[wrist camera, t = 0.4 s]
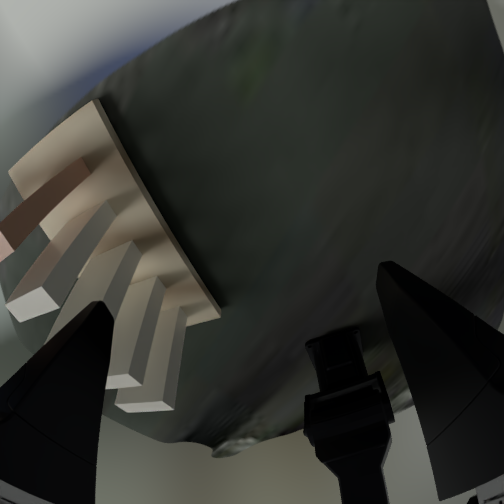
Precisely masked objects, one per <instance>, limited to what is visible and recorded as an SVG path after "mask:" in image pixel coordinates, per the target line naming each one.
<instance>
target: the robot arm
mask: <svg viewBox="0 0 504 504" xmlns="http://www.w3.org/2000/svg"><path fill="white" fill-rule="evenodd" d="M376 289H377V293H378V296H379V299H380V303H381V306H382V310H383V313H384V317H385V321H386V324H387V328H388V331H389V334H390V337H391V339H392V342H393V344H394V347H395V350H396V352H397V355H398V358H399V360H400V363H401V366H402V369H403V372H404V374H405V377H406V380H407V383H408V386H409V389H410V392H411V395H412V398H413V401H414V404H415V408H416V411H417V414H418V417H419V420H420V424H421V428H422V431H423V435H424V438H425V442H426V445H427V450H428V454H429V458H430V462H431V466H432V470H433V475H434V479H435V484H436V488H437V493H438V498H439V501H442V500H445V499H448V498H451V497H453V496H456V495H459V494H461V493H464V492H466V491H469V490H471V489H474V488H476V492H477V494H476V495H474V496H472V497H471V498H470V499H469V501H468V503H467V504H504V334H502V333H501V332H499V331H498V330H496V329H495V328H493V327H492V326H490V325H489V324H487V323H486V322H484V321H483V320H482V319H480V318H479V317H477V316H474V314H473V313H471V312H470V311H469V310H467V309H466V308H464V307H463V306H461V305H460V304H458V303H457V302H455V301H454V300H453V299H451V298H450V297H448V296H447V295H445V294H444V293H442V292H441V291H439V290H437V289H436V288H434V287H433V286H431V285H430V284H428V283H427V282H425V281H424V280H422V279H420V278H419V277H417V276H416V275H414V274H413V273H411V272H409V271H408V270H406V269H405V268H403V267H401V266H400V265H398V264H397V263H395V262H393V261H385V262H381V263H380V264H379V266H378V272H377V280H376ZM113 331H114V318H113V316H112V314H111V312H110V311H109V309H108V308H107V306H106V304H105V303H104V302H103V301H101V300H99V301H92V302H91V303H89V304H88V305H87V306H86V307H85V308H84V309H83V310H81V311H80V312H79V313H78V314H77V315H76V316H75V317H74V318H73V319H71V320H70V321H69V322H68V323H67V324H66V325H65V326H64V327H63V328H62V329H61V330H59V331H58V332H57V333H56V334H55V335H54V336H53V337H52V338H51V339H50V340H49V341H48V342H47V343H46V344H45V345H44V346H43V347H42V348H40V349H39V350H38V351H37V352H36V353H35V354H34V355H33V357H31V358H30V359H29V360H28V361H27V363H25V364H24V365H23V366H22V367H21V368H20V369H19V370H18V371H17V372H16V373H15V374H14V375H13V376H12V377H11V378H10V379H9V380H8V381H7V382H6V383H5V384H3V385H2V386H1V387H0V504H95V488H96V487H95V486H96V468H97V467H96V465H97V452H98V442H99V432H100V423H101V416H102V408H103V401H104V395H105V388H106V382H107V377H108V371H109V365H110V358H111V349H112V339H113ZM305 347H306V350H307V352H308V354H309V357H310V359H311V361H312V364H313V366H314V368H315V370H316V373H317V378H318V383H319V389H320V392H318V393H315V394H312V395H310V394H309V395H305V402H304V431H303V433H304V435H305V436H306V437H308V439H309V441H310V443H311V445H312V446H313V447H315V453H316V457H317V458H318V459H319V460H320V461H321V462H322V463H324V465H326V467H327V468H328V469H329V470H331V472H332V473H334V475H335V476H336V477H337V478H338V481H339V486H340V493H341V500H342V504H390V503H389V498H388V492H387V487H386V482H385V477H384V473H383V466H384V463H385V460H386V458H387V455H388V452H389V449H390V446H391V443H392V438H391V432H390V428H389V424H391V423H393V422H395V419H394V415H393V411H392V407H391V403H390V400H389V397H388V394H387V391H386V388H385V385H384V382H383V379H382V376H381V373H380V371H377V372H375V373H374V374H372V375H369V376H368V373H367V370H366V367H365V363H364V360H363V349H362V342H361V336H360V330H359V328H358V327H354V328H351V329H348V330H345V331H342V332H339V333H336V334H332V335H329V336H326V337H323V338H319V339H316V340H312V341H309V342H307V343H306V344H305Z"/></svg>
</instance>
